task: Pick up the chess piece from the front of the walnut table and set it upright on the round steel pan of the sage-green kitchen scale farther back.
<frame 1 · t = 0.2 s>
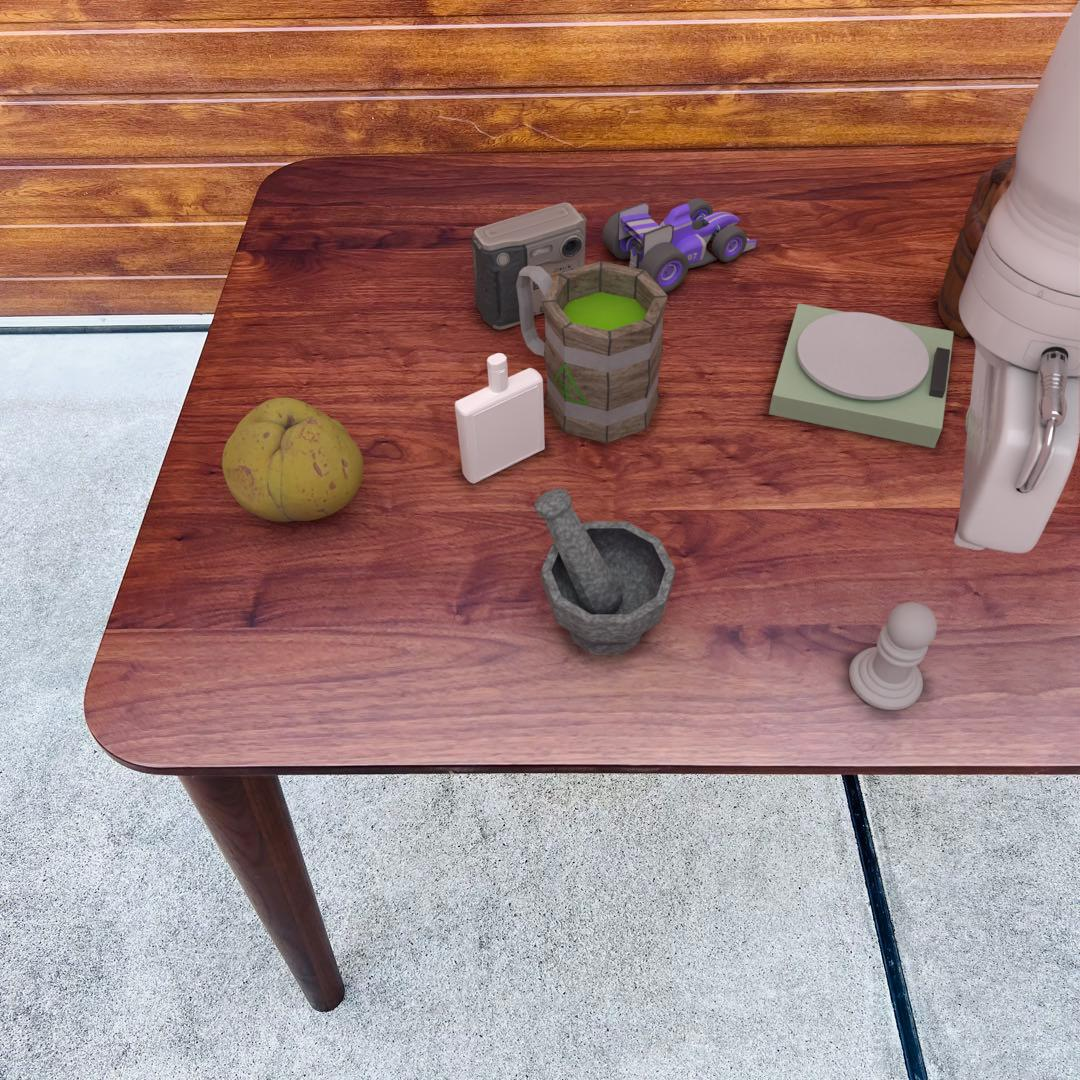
hand: (973, 481, 61), 20 cm above the table, tool pointing down, fingers open, 8 cm apart
chess piece: (883, 683, 76), on the table
mug: (582, 392, 97), on the table
camera: (531, 306, 105), on the table
toy race car: (682, 256, 110), on the table
perfume bottle: (504, 462, 91), on the table
mortar and pestle: (598, 620, 80), on the table
fruit: (305, 504, 88), on the table
wooden figurine: (986, 328, 101), on the table
scale: (859, 382, 96), on the table
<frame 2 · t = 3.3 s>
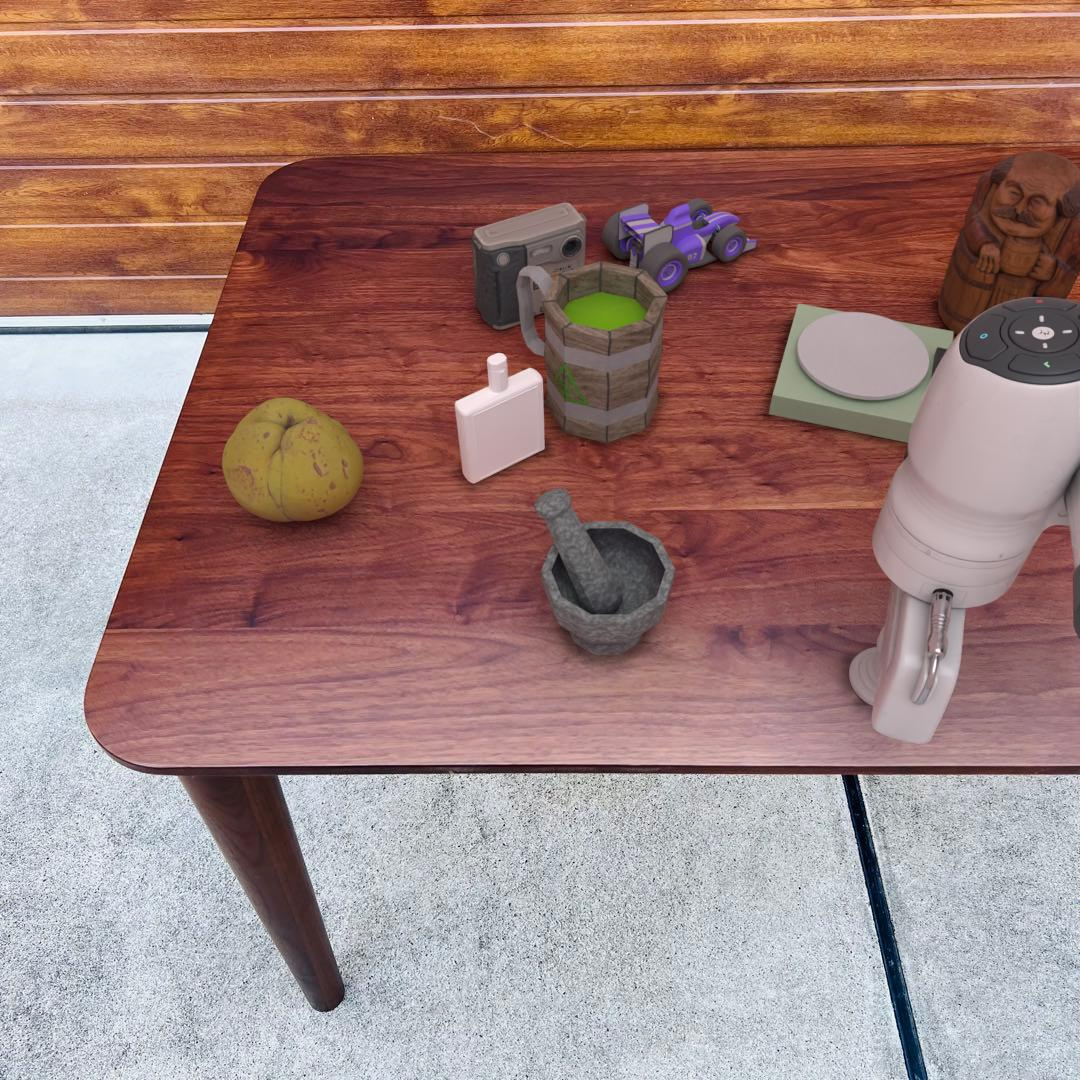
hand: (895, 657, 73), 3 cm above the table, tool pointing down, fingers closed on chess piece, 3 cm apart
chess piece: (883, 683, 76), on the table, touching gripper
everything else where it was.
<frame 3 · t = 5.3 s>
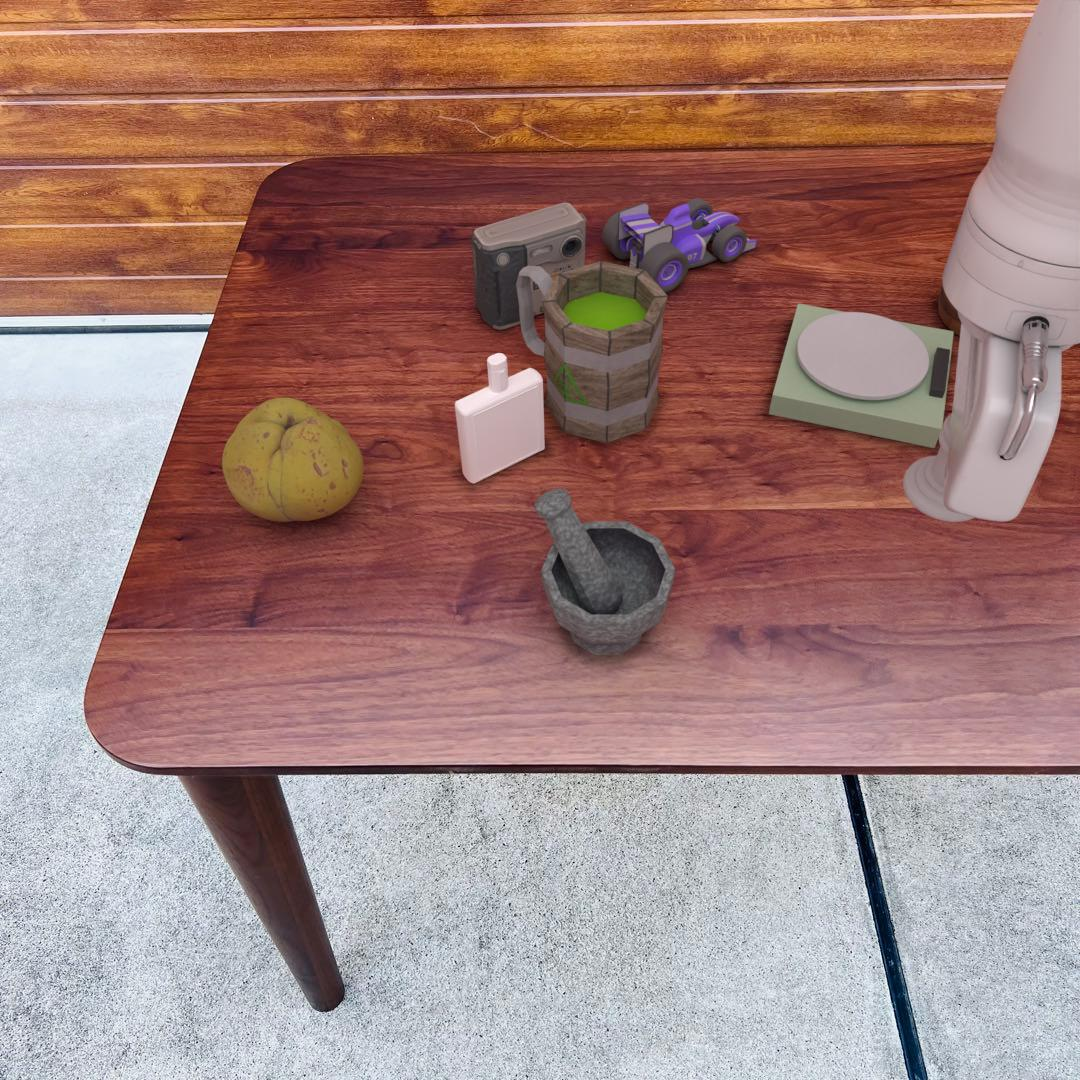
hand: (960, 456, 62), 21 cm above the table, tool pointing down, fingers closed on chess piece, 3 cm apart
chess piece: (943, 495, 64), point 17 cm above the table, touching gripper
everything else where it was.
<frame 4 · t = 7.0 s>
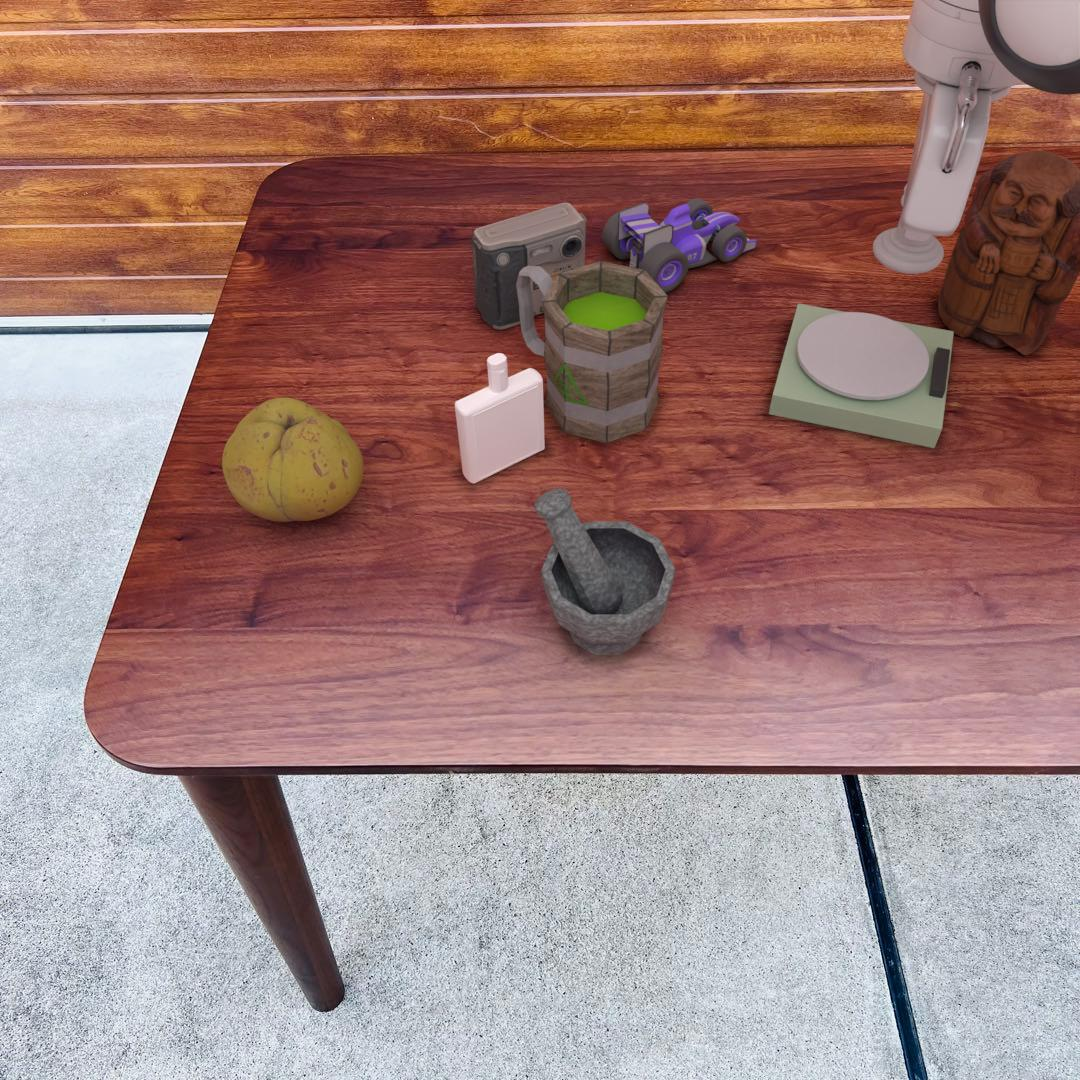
hand: (919, 218, 76), 21 cm above the table, tool pointing down, fingers closed on chess piece, 3 cm apart
chess piece: (905, 258, 79), point 18 cm above the table, touching gripper
everything else where it was.
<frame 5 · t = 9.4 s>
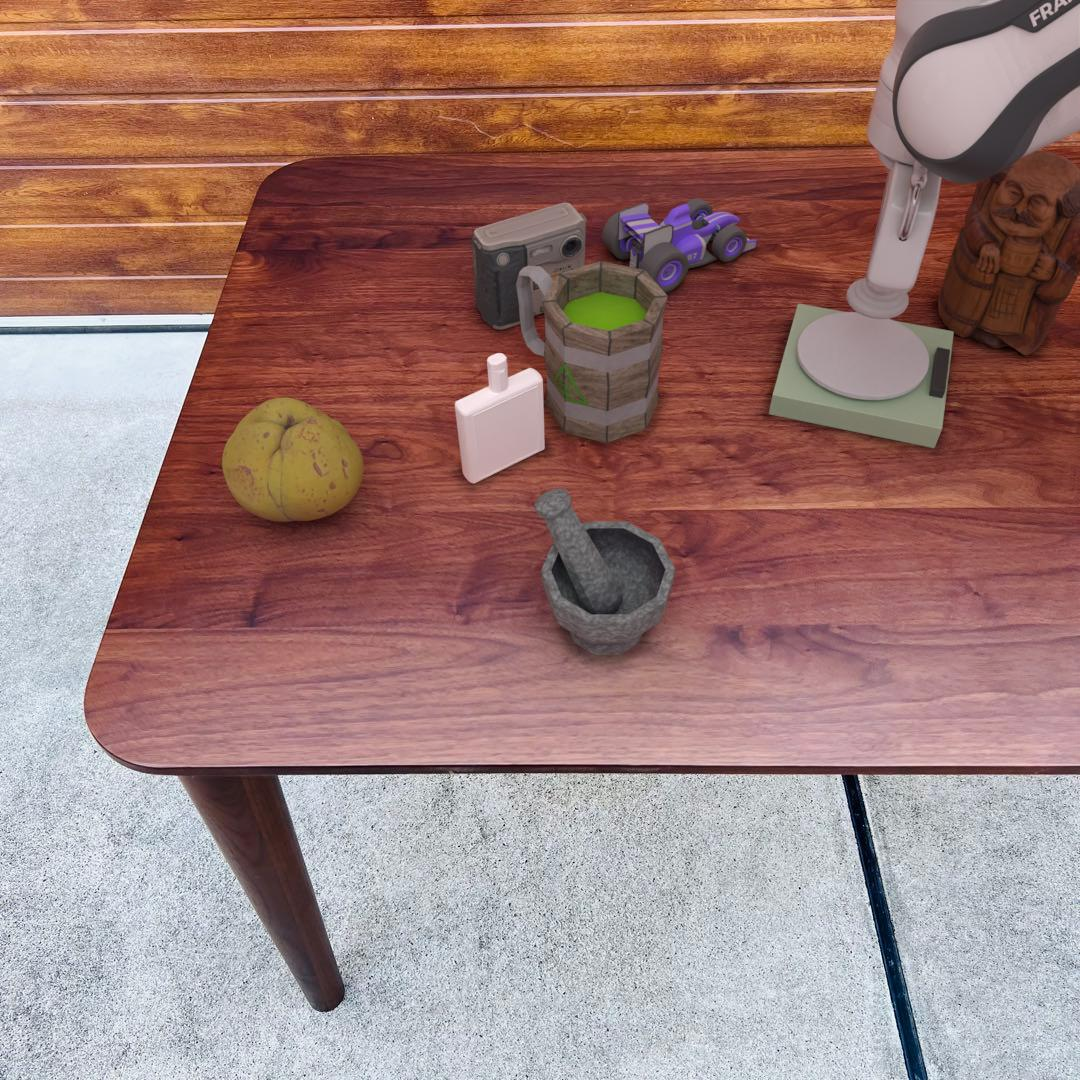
hand: (886, 271, 87), 13 cm above the table, tool pointing down, fingers closed on chess piece, 3 cm apart
chess piece: (875, 304, 89), point 9 cm above the table, touching gripper
everything else where it was.
when the fingers open (7 cm above the table, at t = 11.1 s): chess piece stays where it is, resting on scale.
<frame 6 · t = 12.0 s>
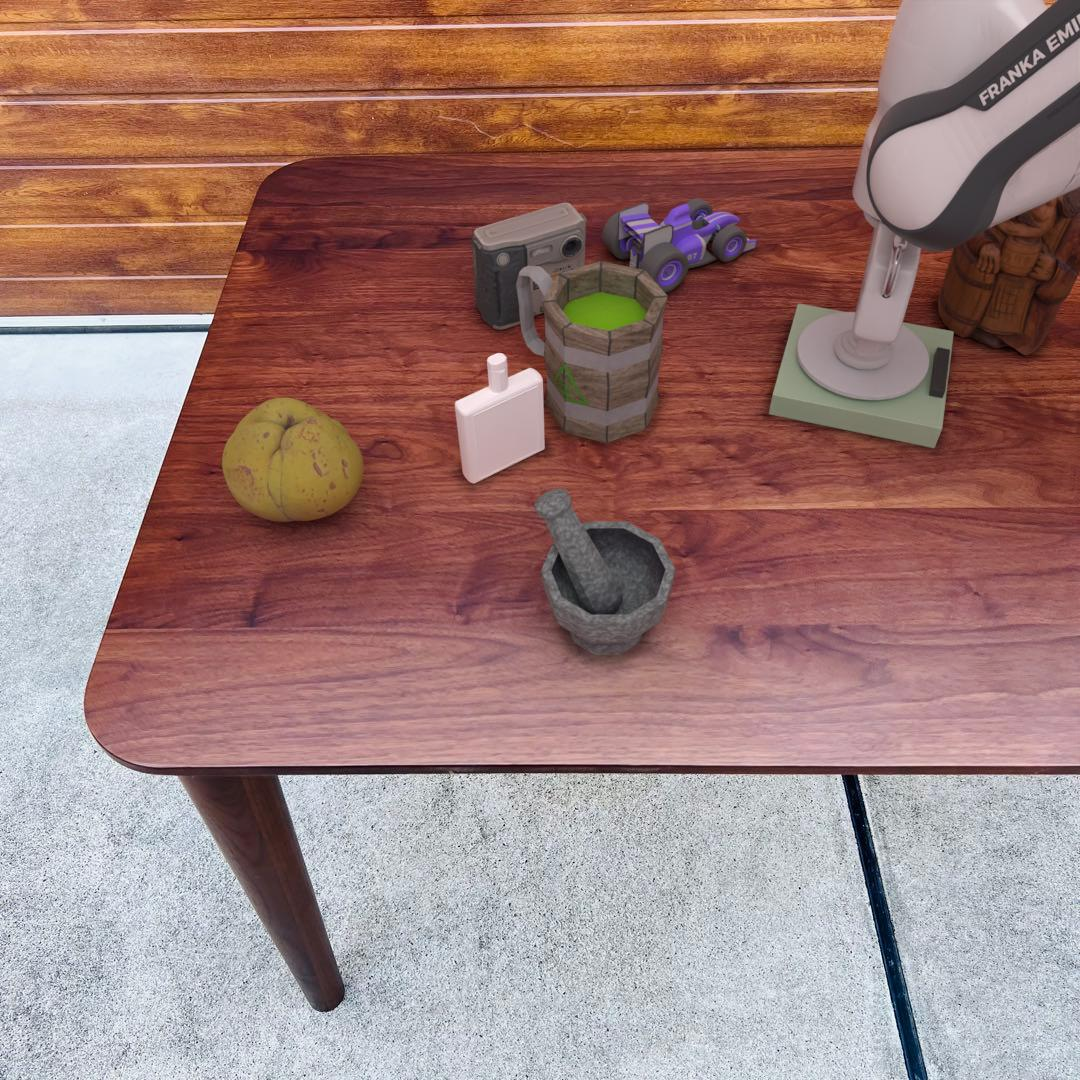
hand: (872, 318, 91), 7 cm above the table, tool pointing down, fingers open, 8 cm apart
chess piece: (861, 354, 94), point 3 cm above the table, touching scale
everything else where it was.
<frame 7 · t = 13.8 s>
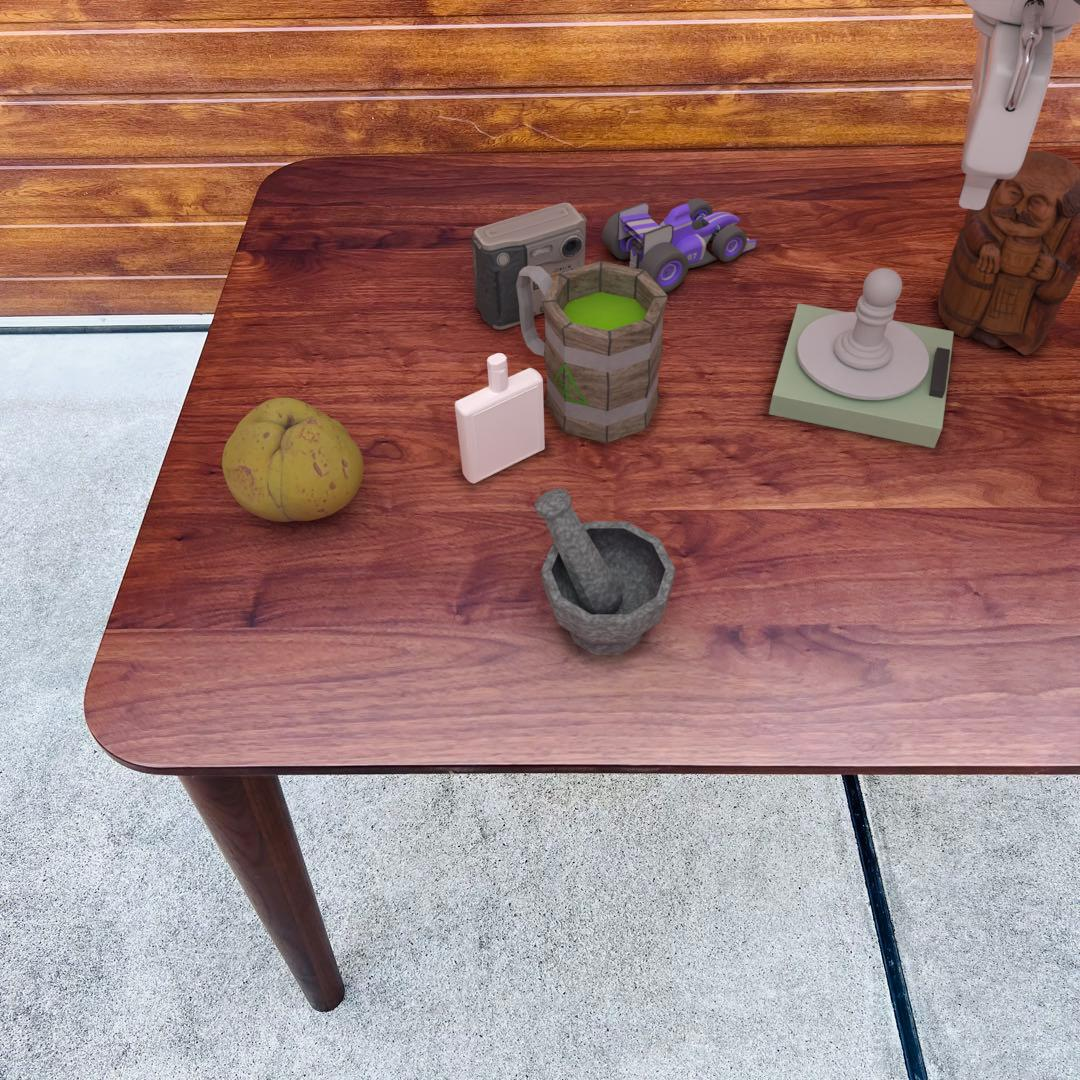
hand: (974, 170, 75), 24 cm above the table, tool pointing down, fingers open, 8 cm apart
nothing on the table moved.
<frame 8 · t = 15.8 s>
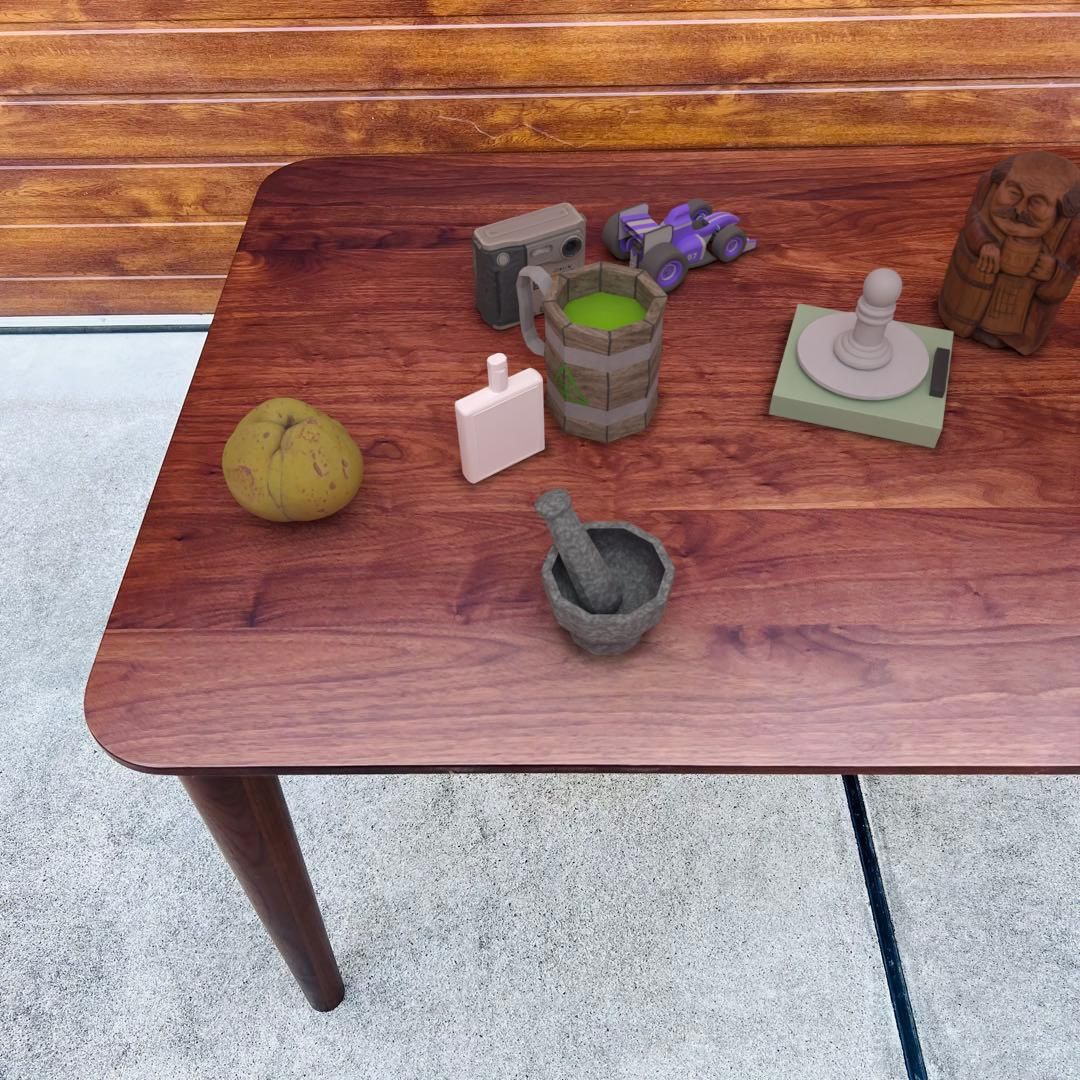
nothing on the table moved.
at the end: chess piece inside the target area on the scale (0.2 cm from its centre), point 3.4 cm above the scale's base; chess piece tilted 0°; the gripper is holding nothing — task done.
